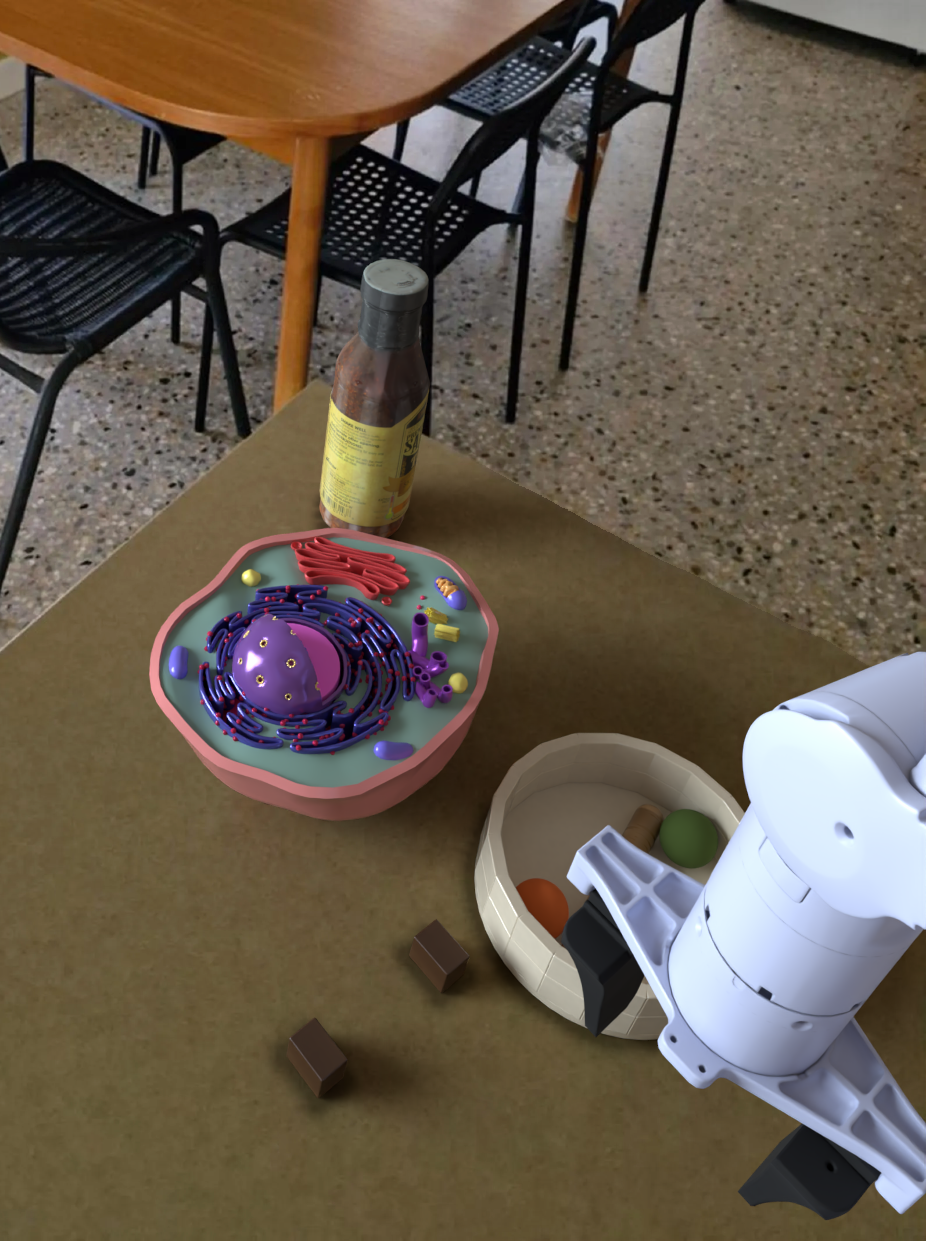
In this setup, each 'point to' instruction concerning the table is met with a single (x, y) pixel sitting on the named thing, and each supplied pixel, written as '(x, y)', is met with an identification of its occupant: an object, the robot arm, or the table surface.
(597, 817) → the cream shallow round container
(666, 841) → the green ball
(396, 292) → the sauce bottle
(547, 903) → the orange ball
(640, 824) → the stick
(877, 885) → the robot arm
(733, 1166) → the table surface
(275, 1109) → the table surface
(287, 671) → the cell model
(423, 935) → the stick rest
